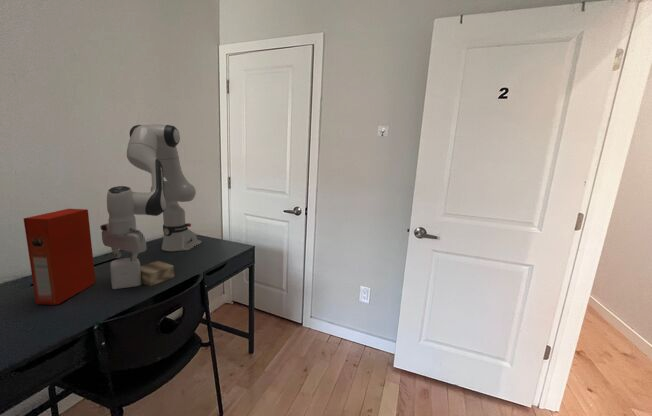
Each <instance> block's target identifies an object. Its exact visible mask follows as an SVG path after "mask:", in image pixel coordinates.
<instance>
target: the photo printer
mask: <svg viewBox="0 0 652 416" xmlns="http://www.w3.org/2000/svg"><path fill="white" fill-rule="evenodd" d="M130 260H131V259H130V257H123V258H122V257H121V258H117V259H114V260H112V261H111V262H110V266H109V271H110V283H111V288H112V290H119V289H124V288H125V289H127V288H132V287H139V286H141V285H142V283H141V271H140V266H141V263H140V259H139V258H137V261H135V262H133V261H130Z"/></svg>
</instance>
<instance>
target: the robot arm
mask: <svg viewBox="0 0 652 416" xmlns="http://www.w3.org/2000/svg"><path fill="white" fill-rule="evenodd" d="M180 135H181V134H180V132H179V130H178V128H177V127H176V126H174V125H171V124H159V123H157V124H155V123H153V124H136V125H133V126H132V127H131V128H130V130H129V140H128V144H127V148H126V158H127V160H128V162H129V163H130V164H131V165H132V166H134V167H135V168H136V169H140V170H142V171H145V172H147V173H149V174H150V175H151V187H150V192H149V191H148V192H141V191H139V192H137V191H132V188H131V187H129V186H124V185H121V186H120V185H119V186H118V185H117V186H114V187H111V188H109V189H108V190H107V194H106V209H107V213H108V223H105V224H104V223H103V224H101V225H100V226H99V227H100V230H101V240H102V244H103V245H104V246H105V247H109V248H111V251H112V253H113V255H114V258H117V259H120V258H122V252H120V250H122V251H125V252H130V253H131V256H130V257H129V258H130V259H131V260H130V261H133V262H135V261H137V259H138V255H139V254H141V253H143V252H146V251H147V241H146V238H145V236H144V233H142V231H141V230H140V229H137V223H136V222H137V221H136V216H135V215H139V216H141V215H144V216H146V215H147V216H152V217H153V216H154V217H158V216H160V215H161V214H162V217H163V224H162V231H163V237H162V243H161V250H162V251H164V252H165V251H166V252H179V251H189V250H191V249H193V248H195V247H196V245H197V246H198V244H199V245H201V244H202V241H201V240H200V239H198V236H197V233H196V232H194V231H192V230H191V229H189V228H191V226H192V223H188V222H187V223H186V212H185V209H184V208H183V207H181V205H180V204H179V202H180V203H184V202H185V203H186V202H191V201H193V200H194V198H196V195H197V192H196V188H195V186H194V185H193V184H191V183H190V182H189V181H188V179H187V178H186V177H185V175H184V173H183V171H182V167H181V163H180V162H181V161H180V158H179V157H180V156H179V152H178V148H177V146H178V144H179V143H180V139H181V136H180ZM194 246H195V247H194Z"/></svg>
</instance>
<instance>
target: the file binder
mask: <svg viewBox="0 0 652 416" xmlns="http://www.w3.org/2000/svg"><path fill="white" fill-rule="evenodd" d="M23 223H24V231H25V239H26V244H27V250H28V258H29V264H30V272H31V276H32V284H33V291H34V296H35V297H34V298H35V304H36V305H54V306H57V305H60V304H61V303H63V302H64V301H66V300H68V299H70V298H72V297H74V296H75V295H77V294H79V293H80V292H82V291H84V290H86V289H87V288H89V287H91V286H92V285H94V284H96V275H95V273H96V272H95V265H94V255H93V254H94V253H93V247H92V246H93V245H92V238H91V228H90V227H91V225H90V215H89V209H83V208H66V209H61V210H56V211H52V212H48V213H47V212H46V213H43V214H37V215H33V216H29V217H24V218H23Z"/></svg>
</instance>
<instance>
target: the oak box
mask: <svg viewBox="0 0 652 416" xmlns="http://www.w3.org/2000/svg"><path fill="white" fill-rule="evenodd" d="M140 271H141V284H143V285H146V286H149V287H152V286H155V285H157V284H159V283H163V282H165V281H167V280H171V279H172V278H175V265H172V264H170V263H166V262H164V261H161V260H156V261H151V262H149V263H146V264H143V265H140Z"/></svg>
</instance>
